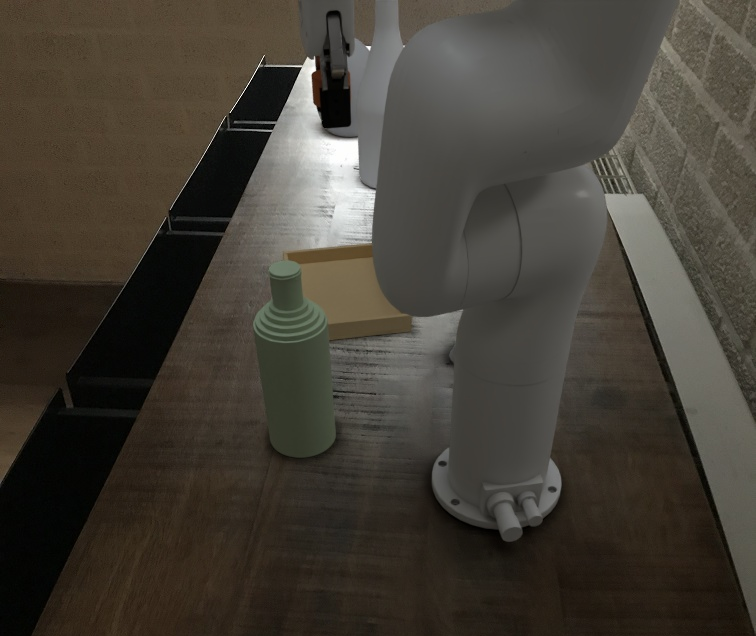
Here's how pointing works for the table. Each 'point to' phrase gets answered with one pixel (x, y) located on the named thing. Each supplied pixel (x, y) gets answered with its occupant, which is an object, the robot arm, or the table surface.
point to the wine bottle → (377, 87)
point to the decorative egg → (353, 87)
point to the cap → (318, 84)
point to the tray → (348, 291)
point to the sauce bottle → (295, 366)
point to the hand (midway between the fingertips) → (333, 116)
